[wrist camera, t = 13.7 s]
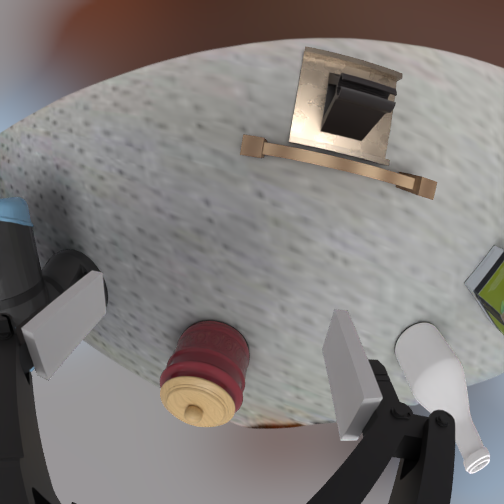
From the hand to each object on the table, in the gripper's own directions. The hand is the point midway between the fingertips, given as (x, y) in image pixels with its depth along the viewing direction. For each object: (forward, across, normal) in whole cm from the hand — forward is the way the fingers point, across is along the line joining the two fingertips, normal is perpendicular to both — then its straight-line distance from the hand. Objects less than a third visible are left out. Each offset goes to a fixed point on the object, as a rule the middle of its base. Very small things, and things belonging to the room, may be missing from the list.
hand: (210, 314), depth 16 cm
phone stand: (+28, +11, +17) cm, 35 cm away
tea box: (+28, +49, -6) cm, 56 cm away
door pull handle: (+29, +11, +9) cm, 32 cm away
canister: (+30, -3, -26) cm, 39 cm away
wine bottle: (+28, +34, -19) cm, 48 cm away
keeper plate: (+29, +12, +17) cm, 35 cm away
